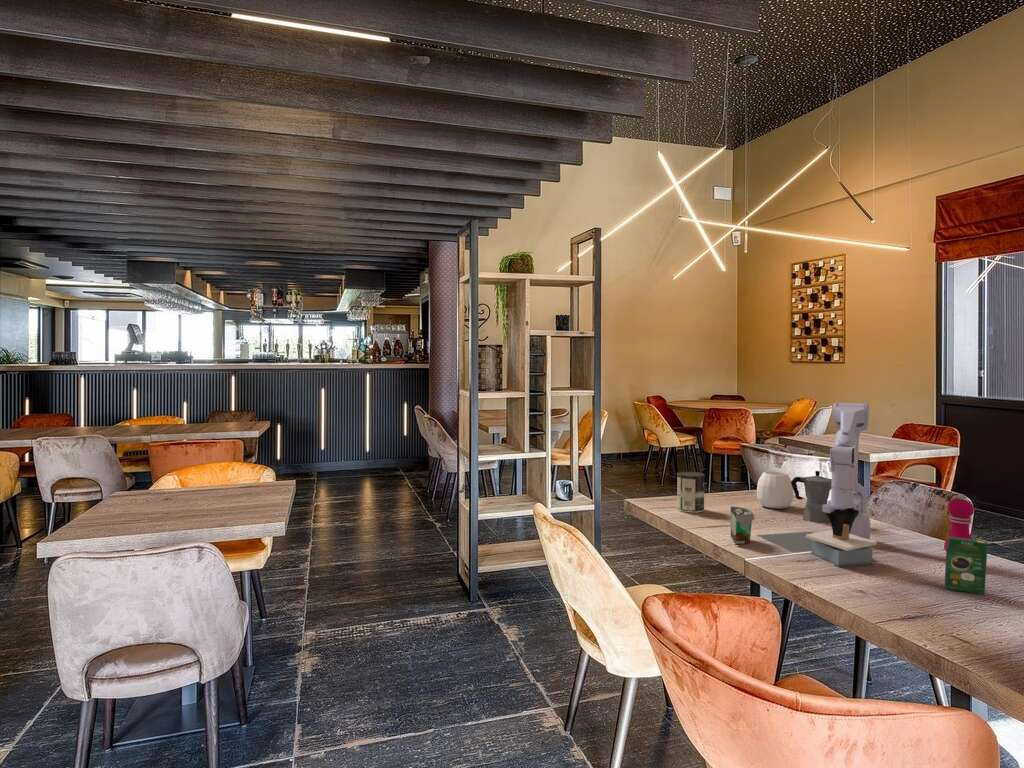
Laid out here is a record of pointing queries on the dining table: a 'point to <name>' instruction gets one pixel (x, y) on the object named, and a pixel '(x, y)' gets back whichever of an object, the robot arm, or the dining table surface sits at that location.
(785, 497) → the white vase
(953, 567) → the coffee box
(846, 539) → the lid
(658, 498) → the dining table surface
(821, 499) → the coffeepot
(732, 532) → the food container
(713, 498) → the dining table surface
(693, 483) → the coffee can
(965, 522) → the pepper mill
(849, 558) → the dish
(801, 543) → the mat
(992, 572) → the dining table surface
